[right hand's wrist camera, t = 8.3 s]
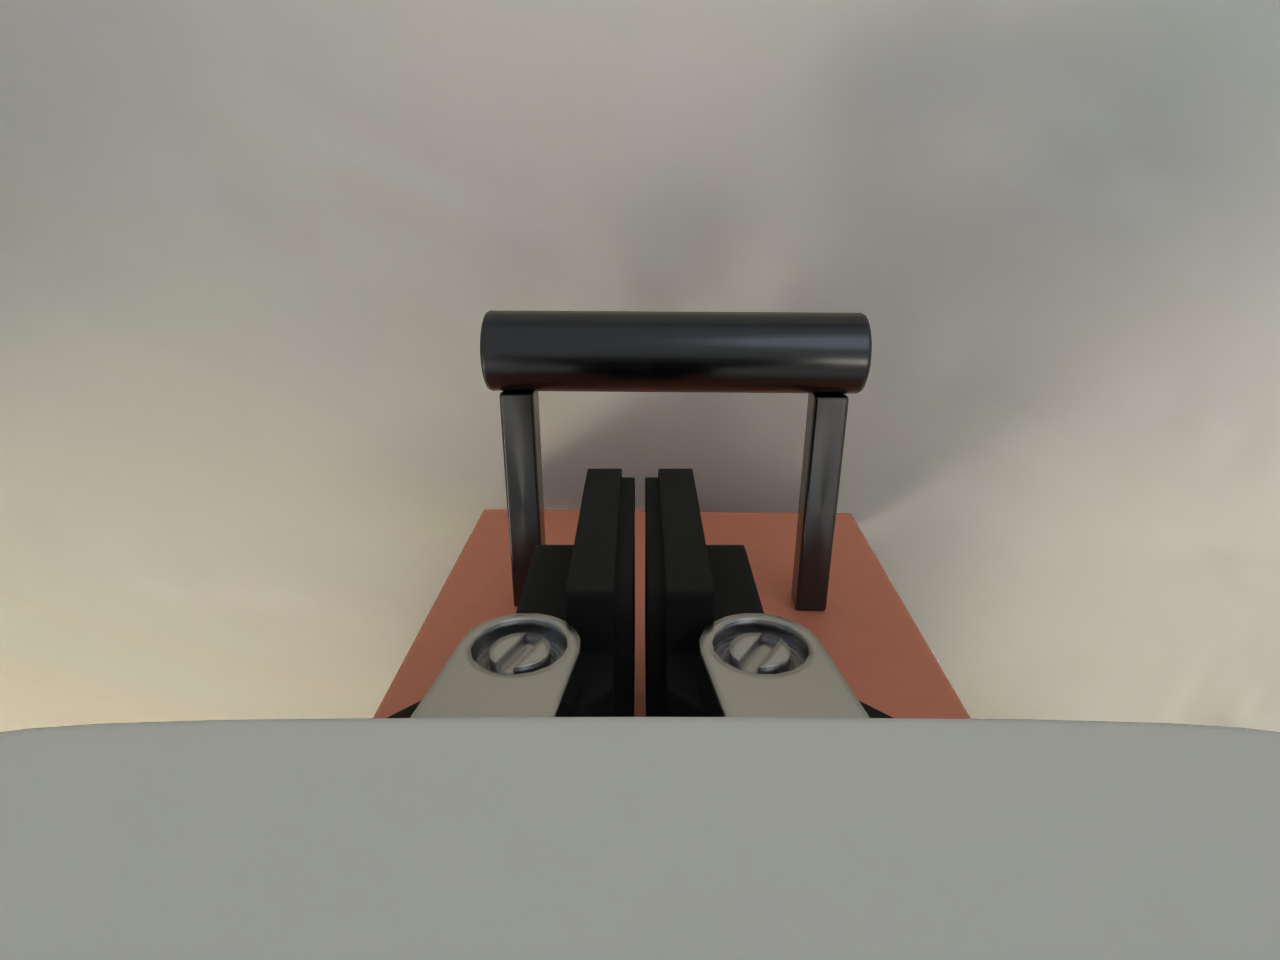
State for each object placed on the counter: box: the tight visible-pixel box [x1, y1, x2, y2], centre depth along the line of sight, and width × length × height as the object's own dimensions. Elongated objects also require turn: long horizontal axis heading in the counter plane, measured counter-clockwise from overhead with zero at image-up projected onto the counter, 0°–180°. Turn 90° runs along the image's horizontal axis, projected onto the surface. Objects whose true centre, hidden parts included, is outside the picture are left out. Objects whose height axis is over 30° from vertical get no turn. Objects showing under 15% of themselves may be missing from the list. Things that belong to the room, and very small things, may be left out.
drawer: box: [373, 311, 970, 719], centre depth 18 cm, size 24×9×8 cm, turn 0°
